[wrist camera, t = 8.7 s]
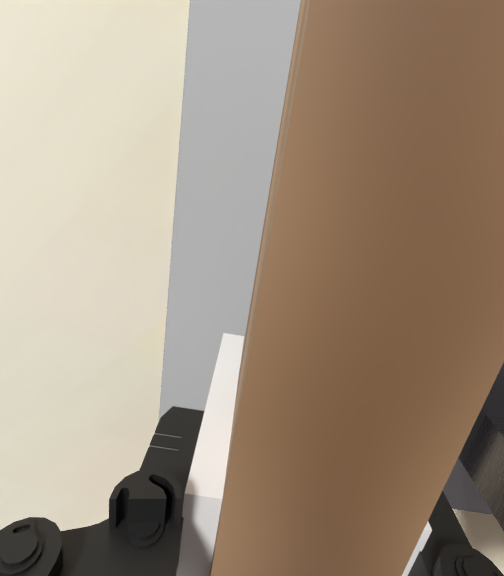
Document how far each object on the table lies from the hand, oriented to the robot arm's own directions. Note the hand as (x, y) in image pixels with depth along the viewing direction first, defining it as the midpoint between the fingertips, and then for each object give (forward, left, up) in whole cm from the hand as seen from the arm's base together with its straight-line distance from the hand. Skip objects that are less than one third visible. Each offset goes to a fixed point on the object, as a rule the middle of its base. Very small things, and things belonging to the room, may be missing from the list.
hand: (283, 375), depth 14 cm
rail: (0, 0, +2) cm, 2 cm away
